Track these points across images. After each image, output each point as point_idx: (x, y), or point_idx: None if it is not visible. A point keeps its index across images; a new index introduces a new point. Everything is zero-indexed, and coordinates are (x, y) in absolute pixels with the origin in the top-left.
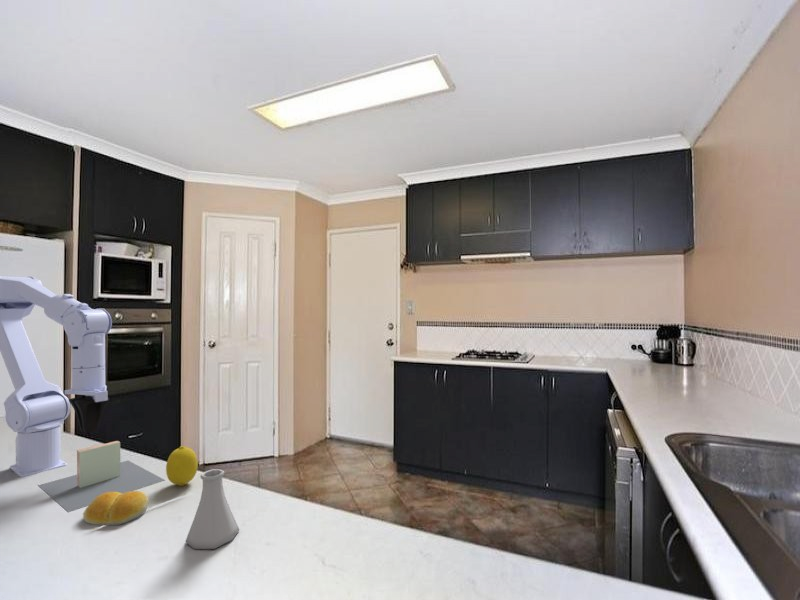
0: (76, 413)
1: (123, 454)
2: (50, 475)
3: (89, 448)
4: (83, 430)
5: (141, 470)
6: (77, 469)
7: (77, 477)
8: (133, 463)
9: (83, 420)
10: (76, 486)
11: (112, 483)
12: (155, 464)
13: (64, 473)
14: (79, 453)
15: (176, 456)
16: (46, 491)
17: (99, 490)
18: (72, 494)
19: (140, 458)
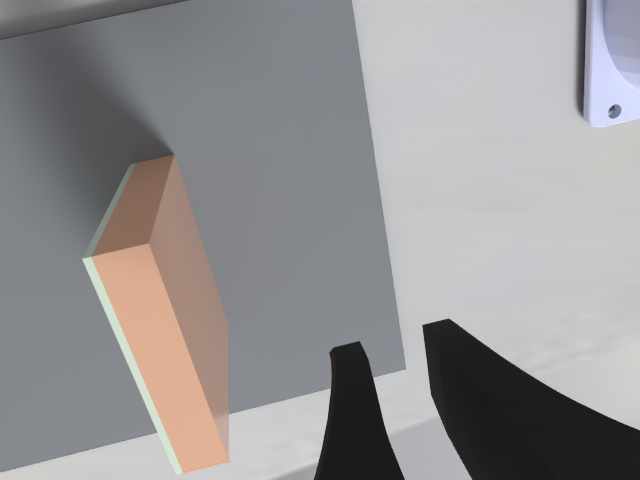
0: (553, 415)
1: (540, 352)
2: (508, 38)
3: (139, 318)
4: (428, 338)
5: None
6: (156, 188)
7: (162, 171)
8: None
9: (330, 435)
10: (167, 150)
11: (92, 297)
12: (275, 449)
13: (479, 105)
14: (89, 251)
15: None
16: (192, 5)
17: (18, 243)
18: (39, 127)
19: (415, 406)
